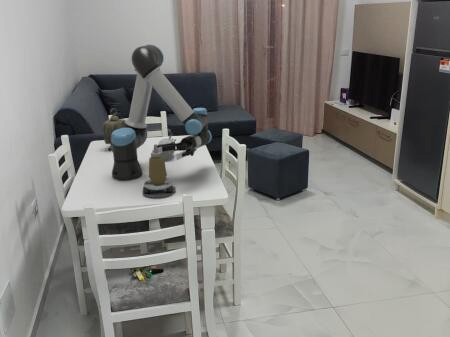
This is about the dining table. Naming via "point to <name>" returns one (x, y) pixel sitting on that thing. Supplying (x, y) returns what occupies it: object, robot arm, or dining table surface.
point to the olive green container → (112, 127)
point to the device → (167, 154)
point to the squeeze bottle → (157, 167)
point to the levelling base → (159, 193)
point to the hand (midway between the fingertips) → (164, 155)
